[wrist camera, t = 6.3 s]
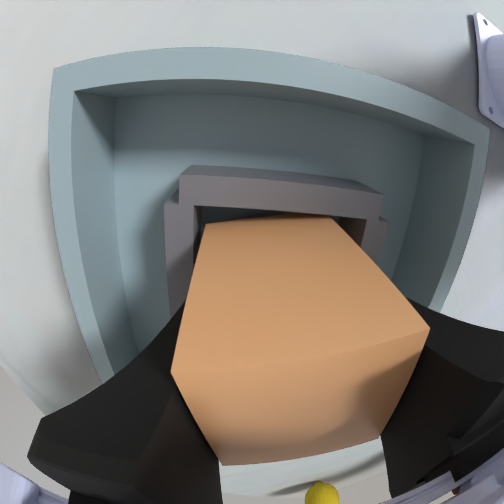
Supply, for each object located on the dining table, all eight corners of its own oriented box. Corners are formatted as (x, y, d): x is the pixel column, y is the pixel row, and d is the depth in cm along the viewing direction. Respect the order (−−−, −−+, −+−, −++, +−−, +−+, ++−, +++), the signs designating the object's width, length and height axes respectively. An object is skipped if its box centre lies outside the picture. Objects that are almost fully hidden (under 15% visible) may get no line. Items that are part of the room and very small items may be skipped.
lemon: (317, 476, 30) (325, 517, 23) (341, 475, 32) (350, 512, 25) (294, 486, 32) (301, 524, 25) (318, 485, 34) (326, 520, 26)
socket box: (429, 121, 11) (490, 129, 7) (361, 357, 18) (384, 405, 14) (107, 82, 9) (53, 68, 5) (130, 353, 16) (113, 406, 12)
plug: (323, 210, 10) (430, 328, 4) (322, 305, 12) (377, 438, 6) (206, 223, 10) (170, 371, 4) (224, 318, 12) (222, 465, 6)
